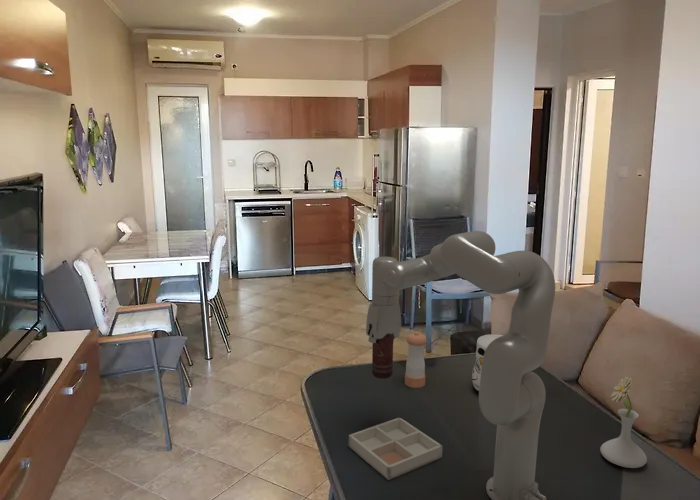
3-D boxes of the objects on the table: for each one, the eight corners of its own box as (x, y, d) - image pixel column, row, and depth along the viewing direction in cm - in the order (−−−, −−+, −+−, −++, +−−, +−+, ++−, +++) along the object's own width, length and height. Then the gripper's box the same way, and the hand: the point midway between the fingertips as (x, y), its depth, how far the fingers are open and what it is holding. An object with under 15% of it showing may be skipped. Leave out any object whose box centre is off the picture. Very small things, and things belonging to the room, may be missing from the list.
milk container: (461, 384, 191) (464, 336, 187) (502, 377, 197) (505, 330, 193) (490, 406, 175) (493, 354, 171) (533, 398, 181) (538, 347, 177)
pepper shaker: (428, 386, 189) (431, 334, 185) (410, 389, 187) (412, 337, 183) (418, 377, 196) (420, 327, 192) (401, 380, 193) (402, 330, 189)
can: (392, 380, 158) (392, 334, 156) (370, 378, 159) (371, 333, 157) (394, 371, 164) (395, 328, 161) (373, 369, 165) (374, 326, 163)
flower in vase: (605, 443, 154) (615, 361, 149) (650, 458, 147) (661, 373, 142) (592, 464, 144) (602, 377, 139) (639, 481, 137) (651, 390, 132)
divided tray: (442, 457, 146) (442, 445, 146) (388, 480, 136) (388, 467, 136) (399, 427, 161) (399, 417, 161) (348, 446, 151) (348, 435, 150)
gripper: (396, 292, 164) (395, 349, 168) (356, 300, 156) (356, 359, 159) (412, 298, 158) (411, 357, 161) (371, 306, 150) (370, 368, 153)
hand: (383, 358), depth 160 cm, fingers closed
